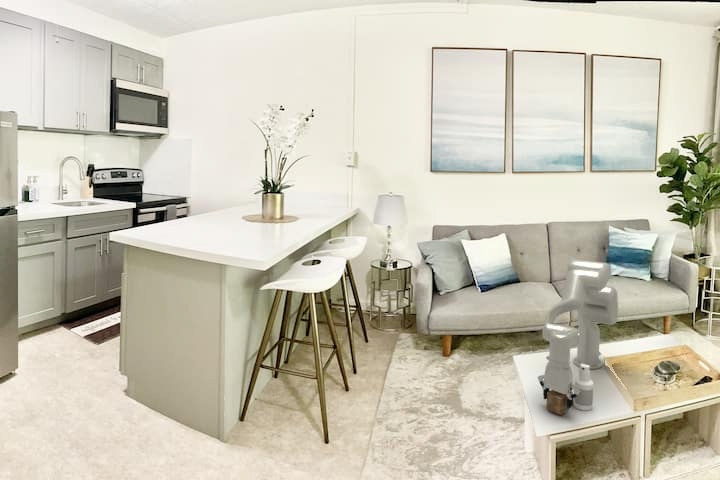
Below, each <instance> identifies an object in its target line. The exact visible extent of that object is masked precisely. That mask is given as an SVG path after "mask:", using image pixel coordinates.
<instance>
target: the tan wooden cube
mask: <svg viewBox="0 0 720 480" xmlns="http://www.w3.org/2000/svg"><path fill="white" fill-rule="evenodd" d="M567 399H568V397H567V395H566V394H562V393H559V392H556V391H554V390H551V389H550V391H549V392H548V393H547V399H546V410H547V411H550V412H552V413H554V412H555V413H554V414H556V413H557V414H556V415H560V416H562V415H564V414H566V412H567V411H569V409H570V408H569V409H568V408H567Z"/></svg>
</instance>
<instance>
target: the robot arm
mask: <svg viewBox="0 0 720 480" xmlns="http://www.w3.org/2000/svg"><path fill="white" fill-rule="evenodd" d="M566 269H567V271H568V273H567V274H566V278H565V279H566V280H565V284H564V288H563V293H562V296H561V297H562V298H561V300H560V301H559V302H558V303H556V304H555V305H554V306H552V307H551V308H550V309H549V311H548V312H547V314H546V315H545V320H544V323H543V329H542V337H543V339H544V340H545V341H547V342H548V343H549V349H548V351H549V354H548V355H547V356H546V357H545V360H547V361H548V362H547V363H546V366H545V369H544V374H541V375H538V376H537V379H538V382H539V385H540V386H541V389H542V390H543V391H542V392H543V393H542V395H543V400H547V393H548V392H549V391H551V390H554V391H556V392H559V393H562V394H566V395H567V397H568V399H567V408H568V409H570V408H572V407H573V406H574V398H575V397H577V396H578V395H579V393H580V392H581V390H580V389H578V388H577V387H576V386H575V383H573V381H574V380H573V372H572V367H570V366H571V365H570V364H571V363H570V362H571V348H573V347H577V348H576V349H577V351H576V353H577V354H576V356H575V357H574V358H573V360H572V361H573V364H574V365H575V366H577V367H579V368H580V364H585V365H589V366H590V368H589V370H596V369H597V370H598V369H600V368H602V366H603V363H602V361H601V360H599V359H600V356H601V355H602V352H601V351H600V338H601V330H600V327H599V326H598V324H605V325H615V324H616V323H617V322H618V320H619V300H618V299H619V297H618V296H619V295H618V291H617V289H616V288H615V287H614V286H612V285H607V284H608V282H609V281H610V279H611V277H612V268H611V265H610V264H609V263H607V262H600V261H593V260H592V261H591V260H584V259H578V258H573V259H570V260H569V261H568V263H567V268H566ZM572 311H576V313H577V322H578V323H577V324H578V327H573V326H568V325H564V324H557V323H555V322H554V321H555V320H556V318H558V317H559V316H560V315H562V314H565V313H568V312H569V313H570V312H572ZM573 391H575V393H574V392H573Z"/></svg>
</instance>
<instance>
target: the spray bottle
mask: <svg viewBox="0 0 720 480" xmlns="http://www.w3.org/2000/svg"><path fill="white" fill-rule="evenodd" d="M589 368H590V366H589V365H585V364H580V367H579V370H578V371H579V372H578V377H576V378H575V379H574V385H575V386H576V387H577V388H578V389H580V390H581V392H580V393H579V395H578V396H577V397H575V398H573V406H574V408H575V409H578V410H579V411H587V412H588V411H591V410H593V403H594V401H593V400H594V381H593V380H592V379H591V376H590V375H591V371H590V370H591V369H589ZM573 391H574V390H573ZM574 393H575V391H574V392H573V394H574Z"/></svg>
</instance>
